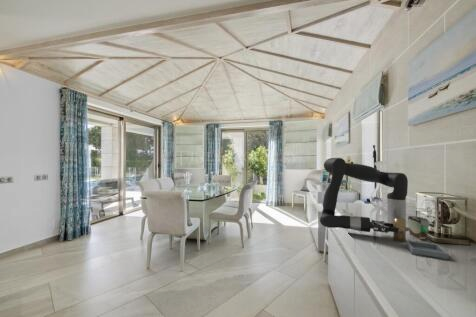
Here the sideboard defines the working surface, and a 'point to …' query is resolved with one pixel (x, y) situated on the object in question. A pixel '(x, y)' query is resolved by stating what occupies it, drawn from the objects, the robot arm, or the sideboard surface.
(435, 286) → the sideboard surface
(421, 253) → the tray
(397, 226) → the bronze can
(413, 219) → the food container
